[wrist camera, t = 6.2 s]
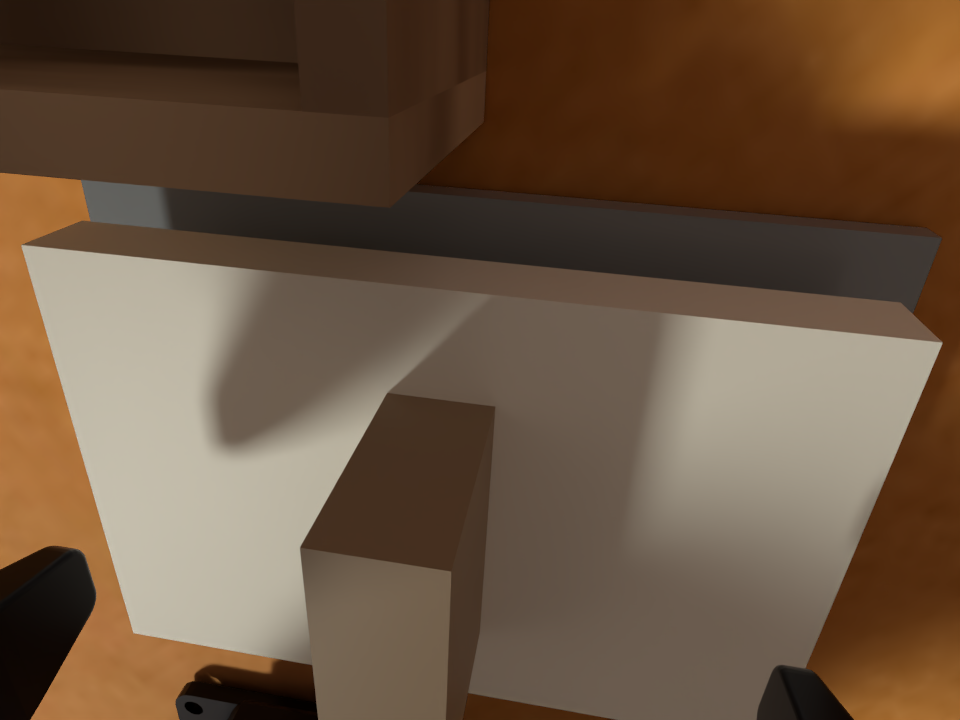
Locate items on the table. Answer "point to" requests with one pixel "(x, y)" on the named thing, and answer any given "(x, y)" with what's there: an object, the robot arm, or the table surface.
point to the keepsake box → (242, 93)
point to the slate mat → (562, 235)
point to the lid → (474, 465)
